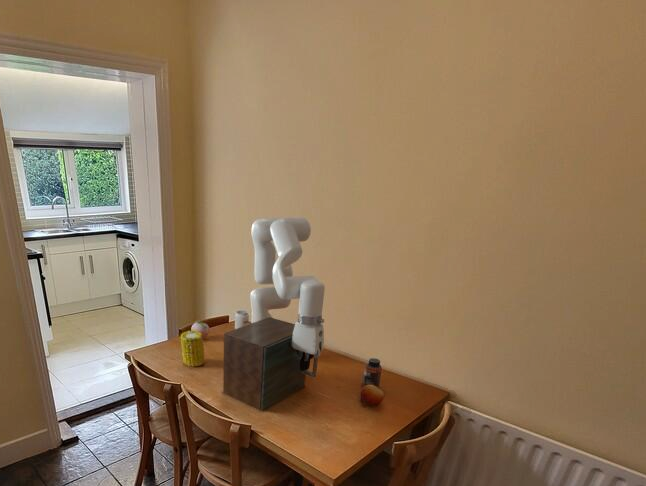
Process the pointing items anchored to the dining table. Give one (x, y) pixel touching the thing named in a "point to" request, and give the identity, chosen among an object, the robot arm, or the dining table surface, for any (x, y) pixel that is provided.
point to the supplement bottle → (372, 372)
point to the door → (282, 372)
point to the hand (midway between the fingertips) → (304, 369)
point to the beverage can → (241, 319)
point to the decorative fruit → (201, 328)
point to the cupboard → (250, 357)
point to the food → (192, 348)
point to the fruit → (371, 395)
